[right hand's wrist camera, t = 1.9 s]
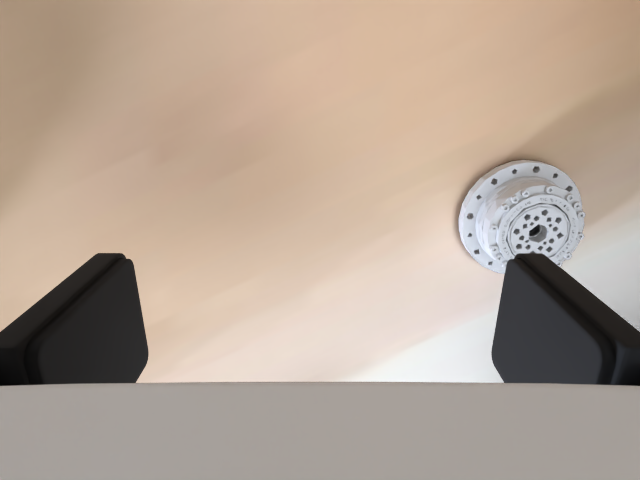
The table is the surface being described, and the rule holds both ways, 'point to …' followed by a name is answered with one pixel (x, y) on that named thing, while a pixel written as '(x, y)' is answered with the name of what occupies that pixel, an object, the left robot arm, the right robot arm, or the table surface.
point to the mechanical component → (521, 214)
